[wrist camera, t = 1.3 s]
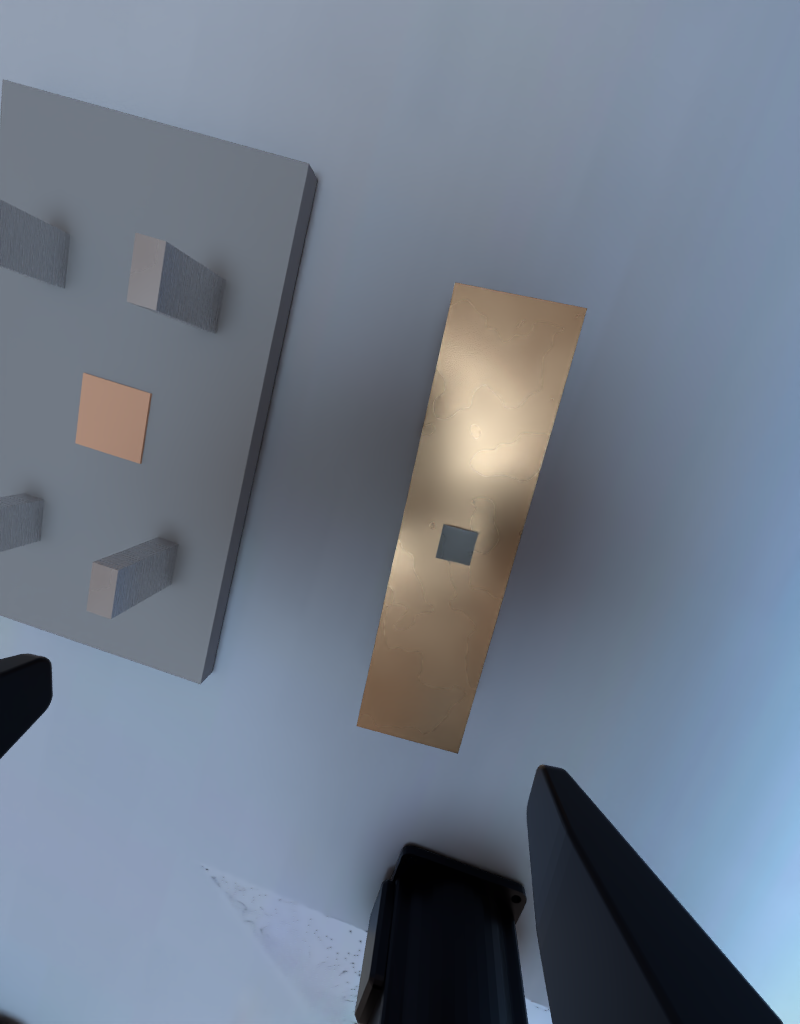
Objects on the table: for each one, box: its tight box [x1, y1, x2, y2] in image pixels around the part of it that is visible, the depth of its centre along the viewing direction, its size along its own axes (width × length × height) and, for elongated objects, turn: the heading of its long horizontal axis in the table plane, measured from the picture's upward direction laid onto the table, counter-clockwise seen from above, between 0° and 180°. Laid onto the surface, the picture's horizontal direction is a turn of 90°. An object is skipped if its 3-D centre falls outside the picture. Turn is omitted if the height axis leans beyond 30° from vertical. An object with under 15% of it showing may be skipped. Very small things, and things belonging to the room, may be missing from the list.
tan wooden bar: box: [357, 283, 587, 753], centre depth 16 cm, size 4×16×4 cm, turn 168°
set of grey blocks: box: [0, 200, 226, 619], centre depth 16 cm, size 8×13×4 cm, turn 164°
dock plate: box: [0, 80, 317, 684], centre depth 18 cm, size 12×22×1 cm, turn 164°
